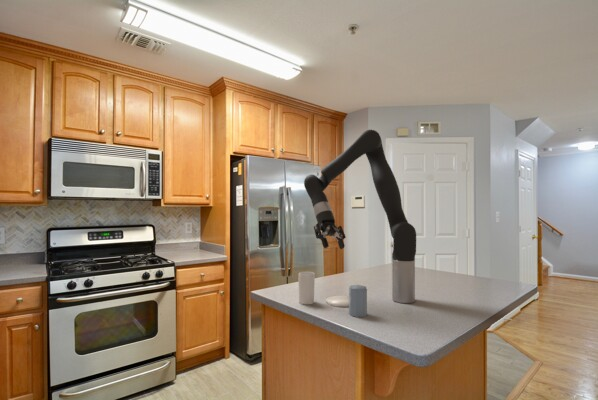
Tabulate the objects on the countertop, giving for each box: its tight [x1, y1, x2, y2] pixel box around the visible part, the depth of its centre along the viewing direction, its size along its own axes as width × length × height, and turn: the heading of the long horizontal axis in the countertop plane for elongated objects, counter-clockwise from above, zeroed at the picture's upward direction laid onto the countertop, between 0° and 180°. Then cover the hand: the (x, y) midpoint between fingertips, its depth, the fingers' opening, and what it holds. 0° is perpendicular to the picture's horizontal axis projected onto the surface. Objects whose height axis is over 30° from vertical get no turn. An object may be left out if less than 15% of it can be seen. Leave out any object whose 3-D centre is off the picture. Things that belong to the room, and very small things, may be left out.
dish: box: [325, 295, 349, 308], centre depth 135 cm, size 13×13×1 cm
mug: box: [297, 271, 316, 306], centre depth 136 cm, size 10×7×12 cm, turn 10°
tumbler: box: [348, 284, 368, 318], centre depth 120 cm, size 6×6×10 cm
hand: (334, 247), depth 133 cm, fingers open, 8 cm apart
